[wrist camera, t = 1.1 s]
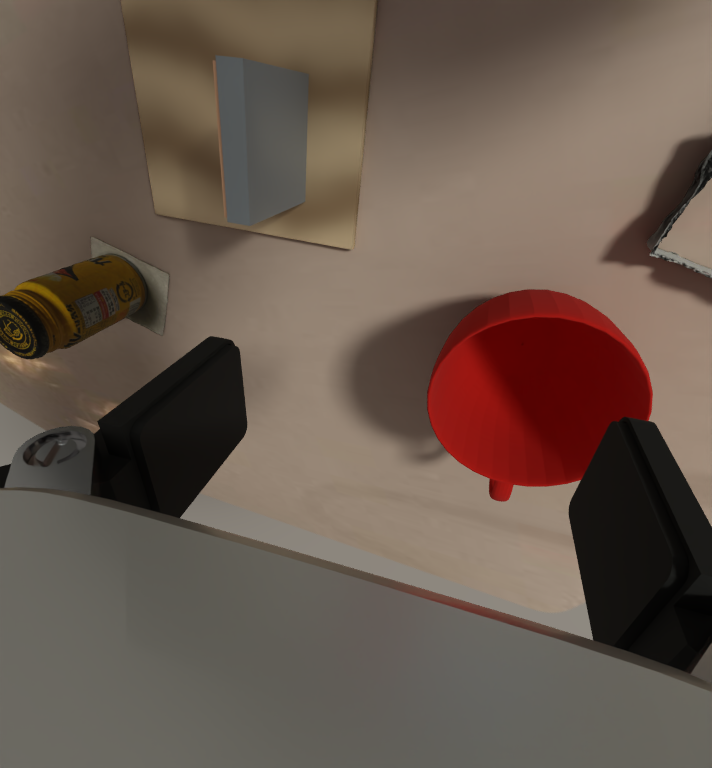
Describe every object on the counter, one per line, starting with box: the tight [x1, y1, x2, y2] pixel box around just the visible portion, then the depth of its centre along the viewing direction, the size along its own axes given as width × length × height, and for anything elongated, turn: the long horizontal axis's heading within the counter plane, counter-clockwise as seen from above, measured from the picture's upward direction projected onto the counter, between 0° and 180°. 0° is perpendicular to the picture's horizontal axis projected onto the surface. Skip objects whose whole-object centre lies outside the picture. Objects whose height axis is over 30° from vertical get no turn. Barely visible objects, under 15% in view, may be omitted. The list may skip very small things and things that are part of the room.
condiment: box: [0, 237, 169, 359], centre depth 37 cm, size 7×8×12 cm
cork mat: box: [120, 0, 378, 250], centre depth 29 cm, size 22×18×1 cm
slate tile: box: [213, 55, 309, 226], centre depth 27 cm, size 8×2×9 cm, turn 174°
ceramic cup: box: [427, 290, 653, 501], centre depth 31 cm, size 13×17×10 cm
